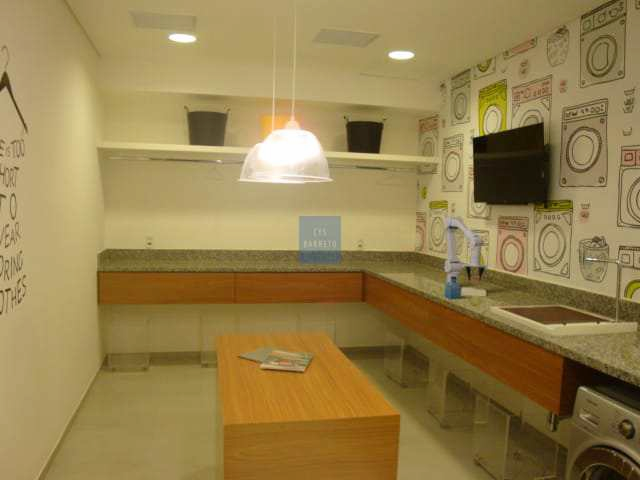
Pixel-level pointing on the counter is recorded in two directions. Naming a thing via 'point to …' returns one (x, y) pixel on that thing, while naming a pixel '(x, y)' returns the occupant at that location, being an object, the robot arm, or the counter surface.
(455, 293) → the perfume bottle
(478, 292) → the base block
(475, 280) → the walnut cube
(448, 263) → the robot arm
